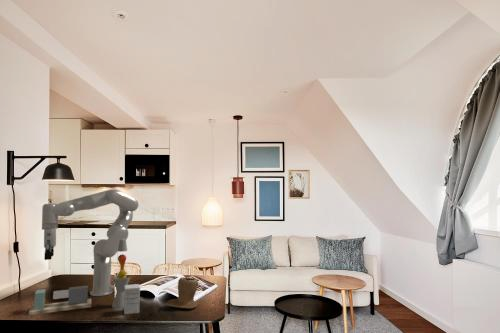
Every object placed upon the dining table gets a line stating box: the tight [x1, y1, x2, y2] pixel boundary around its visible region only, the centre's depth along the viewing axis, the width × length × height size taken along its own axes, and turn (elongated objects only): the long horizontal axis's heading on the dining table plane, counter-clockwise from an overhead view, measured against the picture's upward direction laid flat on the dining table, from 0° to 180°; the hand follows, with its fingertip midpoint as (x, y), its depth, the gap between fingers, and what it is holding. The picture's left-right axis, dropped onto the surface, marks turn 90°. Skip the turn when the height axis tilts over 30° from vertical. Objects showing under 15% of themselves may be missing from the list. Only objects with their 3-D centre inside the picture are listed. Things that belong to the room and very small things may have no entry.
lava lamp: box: [111, 239, 131, 309], centre depth 182 cm, size 9×9×35 cm
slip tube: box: [52, 289, 69, 300], centre depth 179 cm, size 16×3×3 cm, turn 116°
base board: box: [28, 298, 93, 316], centre depth 177 cm, size 28×10×2 cm, turn 116°
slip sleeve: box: [67, 285, 89, 306], centre depth 180 cm, size 9×5×8 cm, turn 116°
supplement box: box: [123, 283, 141, 315], centre depth 173 cm, size 7×7×13 cm
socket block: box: [33, 288, 46, 310], centre depth 173 cm, size 4×7×8 cm, turn 26°
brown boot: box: [165, 276, 199, 310], centre depth 181 cm, size 15×12×15 cm
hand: (49, 257), depth 185 cm, fingers open, 9 cm apart
